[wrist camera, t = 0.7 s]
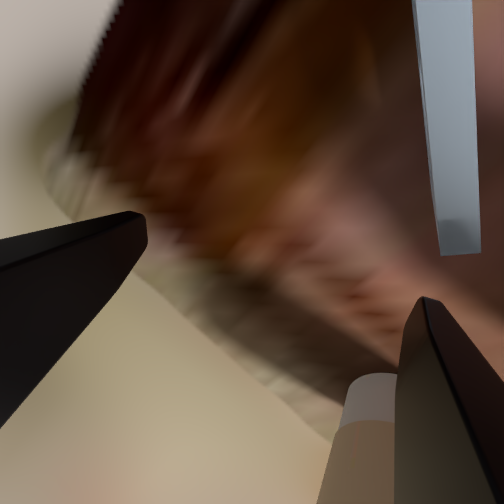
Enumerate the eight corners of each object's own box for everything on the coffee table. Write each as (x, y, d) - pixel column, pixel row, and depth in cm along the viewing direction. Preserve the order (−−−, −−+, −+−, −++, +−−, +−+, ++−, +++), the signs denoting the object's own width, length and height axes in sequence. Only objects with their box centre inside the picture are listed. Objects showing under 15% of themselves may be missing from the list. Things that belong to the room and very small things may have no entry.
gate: (402, -97, 12) (399, -163, 7) (441, -117, 11) (464, -202, 7) (431, 190, 17) (440, 256, 12) (459, 186, 16) (480, 252, 12)
